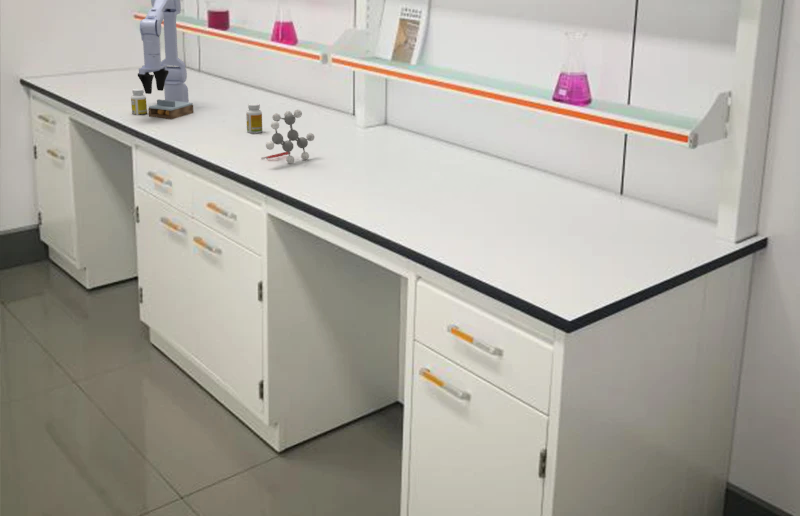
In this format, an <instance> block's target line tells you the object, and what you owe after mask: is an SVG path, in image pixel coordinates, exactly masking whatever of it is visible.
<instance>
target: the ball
mask: <svg viewBox="0 0 800 516" xmlns="http://www.w3.org/2000/svg"><path fill="white" fill-rule="evenodd" d="M157 113H158V114H161V115H164V114H165V110H162V109H158V110H157Z"/></svg>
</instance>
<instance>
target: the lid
mask: <svg viewBox="0 0 800 516" xmlns="http://www.w3.org/2000/svg"><path fill="white" fill-rule="evenodd" d="M189 105H193V106H194V104H193V102H189V103H188V102H179V101H169V100H165V99H157V100H156V104H152V105H149V106H148V108H153V109H162V110H170V111H172V110H175V109H179V108H182V107H186V106H189Z"/></svg>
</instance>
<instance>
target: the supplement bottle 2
mask: <svg viewBox="0 0 800 516" xmlns="http://www.w3.org/2000/svg"><path fill="white" fill-rule="evenodd" d="M247 109H248V110H246V115H245V116H246V117H245V118H246V132H247V133H248V134H260V133H262V132H263V112H262V110H261V105H260V104H259V103H248V105H247Z"/></svg>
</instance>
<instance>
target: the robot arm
mask: <svg viewBox="0 0 800 516" xmlns="http://www.w3.org/2000/svg"><path fill="white" fill-rule="evenodd" d="M150 2H151V3H150V4H151V8H150V9H149V10H148V11H147V13H146V16H145V18H143V19H142V20H140V22H139V33H140V36H141V41H142V46H143V48H142V49H143V60H144V61H143V62H144V65H141V67H140V68H138V73H137V77H138V79H139V80H140V83H141V84H142V86H143V90H144V92H145V94H148V95H151V94H152V92H153V91H152V89H153V80H154V79H155V85H156V89H157V91H164V100H169V101H179V102H188V103H190V101H189V88H188V85H187V84H186V81H187V77H188V76H187V75H188V73H187V67H186V66H187V65H186V62H184V61H183V60H182V59H180V58H179V54H178V53H179V51H178V34H177V32H178V31H177V15H180V14H181V11H182V9H181V8H182V6H181V5H182V4H181V0H150ZM162 23H163V33H164V34H163V36H164V53H165V58H164V59H163V60H162V59H161V46H160V45H161V43H160V37H161V33H162ZM150 73H153V74H150Z"/></svg>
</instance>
